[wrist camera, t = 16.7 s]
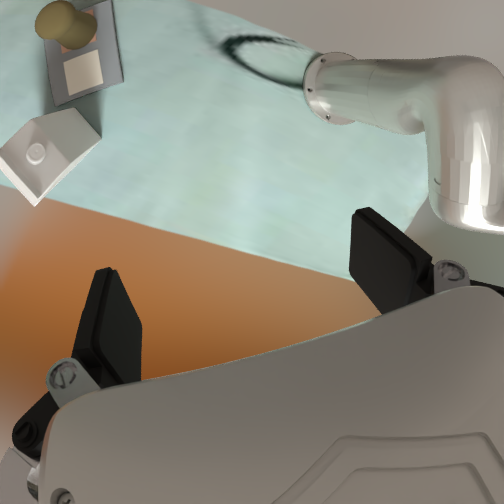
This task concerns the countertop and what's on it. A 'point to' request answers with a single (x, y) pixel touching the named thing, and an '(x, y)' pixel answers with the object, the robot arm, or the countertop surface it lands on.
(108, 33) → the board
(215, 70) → the countertop surface
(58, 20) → the cork
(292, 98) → the countertop surface
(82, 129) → the milk carton
